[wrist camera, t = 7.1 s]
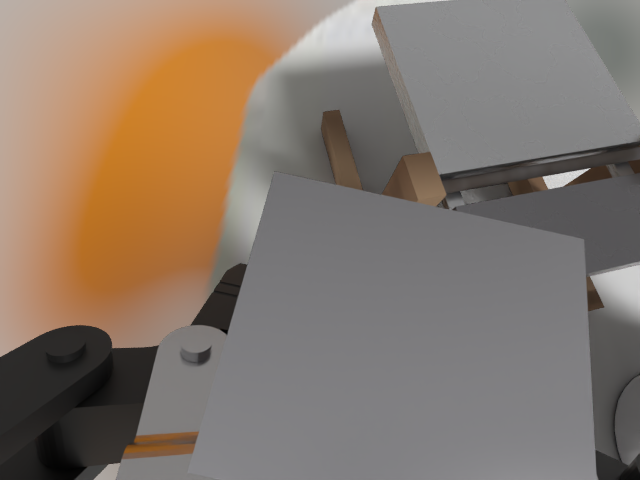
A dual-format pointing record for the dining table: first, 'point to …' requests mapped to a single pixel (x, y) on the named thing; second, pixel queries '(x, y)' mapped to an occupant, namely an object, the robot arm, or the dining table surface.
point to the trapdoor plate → (517, 112)
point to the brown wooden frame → (427, 188)
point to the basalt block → (401, 347)
